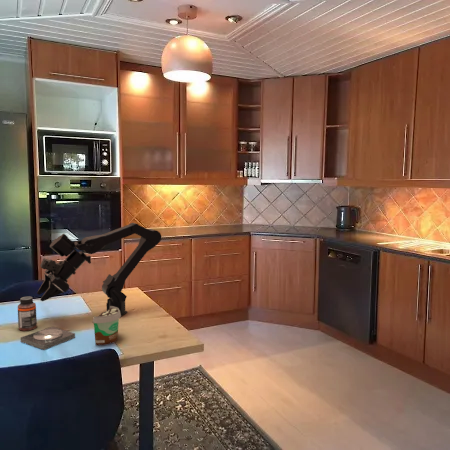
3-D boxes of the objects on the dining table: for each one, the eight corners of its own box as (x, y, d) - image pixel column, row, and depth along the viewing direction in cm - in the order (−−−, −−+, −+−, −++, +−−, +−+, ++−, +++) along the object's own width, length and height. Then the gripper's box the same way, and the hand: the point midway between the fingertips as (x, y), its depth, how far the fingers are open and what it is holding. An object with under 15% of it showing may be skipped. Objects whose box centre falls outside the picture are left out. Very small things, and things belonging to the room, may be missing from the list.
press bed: (52, 330, 145) (52, 325, 145) (75, 337, 139) (75, 332, 139) (20, 341, 135) (20, 336, 135) (43, 350, 129) (43, 344, 129)
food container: (110, 348, 131) (110, 318, 130) (93, 346, 132) (92, 316, 131) (127, 334, 143) (127, 306, 142) (111, 332, 144) (110, 305, 143)
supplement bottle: (22, 325, 150) (21, 295, 148) (39, 325, 150) (38, 295, 149) (15, 331, 144) (14, 300, 142) (33, 331, 144) (32, 300, 143)
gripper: (50, 246, 157) (19, 277, 152) (58, 254, 141) (24, 289, 136) (72, 265, 162) (42, 295, 157) (82, 275, 146) (50, 309, 141)
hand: (39, 297), depth 148 cm, fingers open, 9 cm apart
